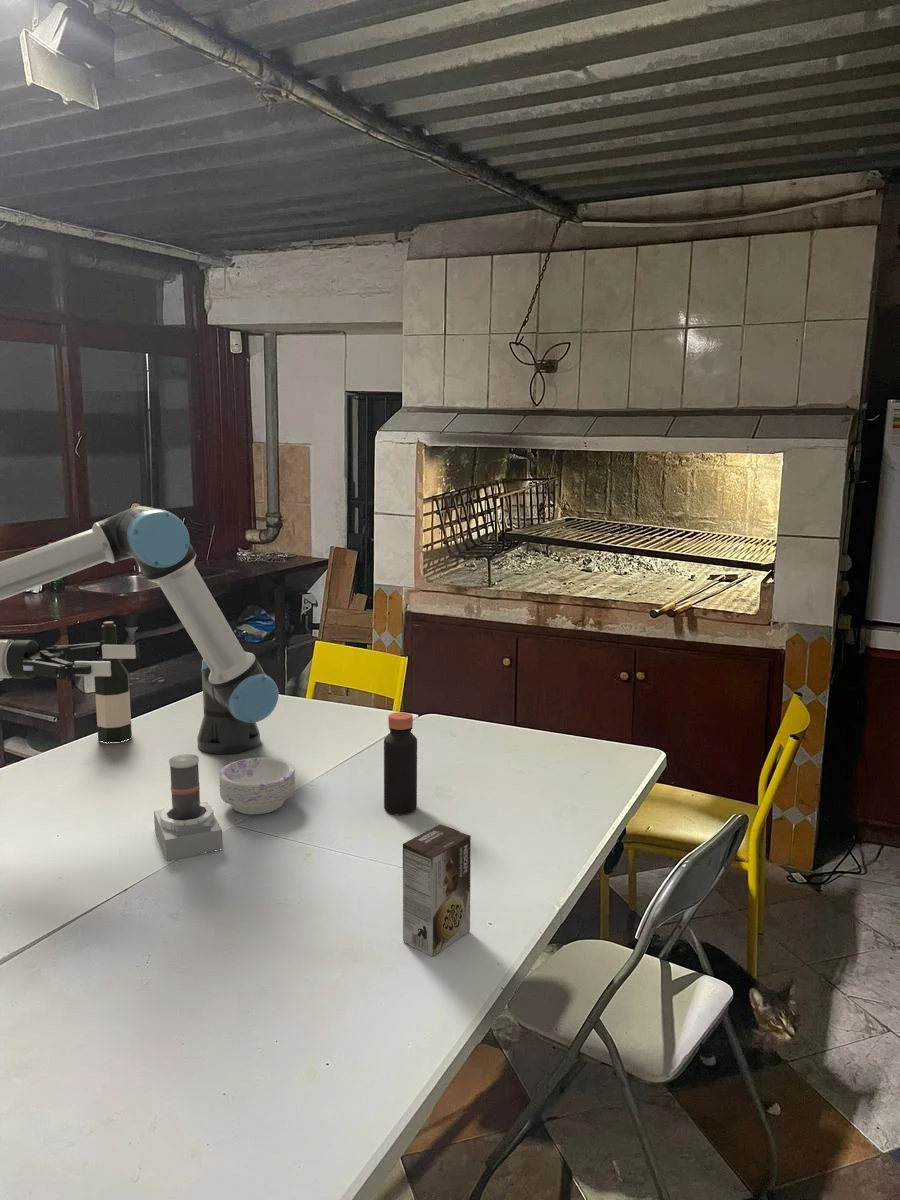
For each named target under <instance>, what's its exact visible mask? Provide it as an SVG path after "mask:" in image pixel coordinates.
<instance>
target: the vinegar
mask: <svg viewBox="0 0 900 1200" xmlns="http://www.w3.org/2000/svg"><path fill="white" fill-rule="evenodd" d="M413 719H414V718H413V714H412V713H409V712H404V711H402V712H399V711H398V712H392V713H390V714H389V715H388V730H389V733H388V734H387V735H385V737H384V740H383V809H384V810H385V811H386V812H387V813H389V814H391V815H395V814H398V815H397V816H402V815H403V814H405V815H410V814H412V813H413V812H415V811H416V810H417V806H418V739H417V737H416V736H415V735H414V734H413V733H412V730H413V724H414V723H413V721H414V720H413ZM403 816H404V815H403Z"/></svg>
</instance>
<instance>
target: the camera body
mask: <svg viewBox="0 0 900 1200" xmlns="http://www.w3.org/2000/svg"><path fill="white" fill-rule="evenodd" d="M153 814H154V815H153V817H154V819H153V820H154V821H153V822H154V831H155V835H156V837H157V839H158V841H159V844H160V847H161V850H162V853H163V855H164V858H165V860H166V861H172V860H178V859H183V858H189V857H192V856H193V855H194V856H198V854H199V855H202V854H201V853H204V854H206V853H205V852H210V853H212V852H211V851H215V850H220V849H223V850H224V847H223V846H224V845H223V844H224V843H223V840H224V839H223V828H222V827H221V825H220V823H219V822H218V819H217V817H216V816H215V813H214V809H213V807H212V805H210V804H208V802H207V801H204V802H201V801H200V814H201V816H200V817H198V818H196V819H191V820H173V811H172V805H170V806H168V807H166V808H162V809H156V810H155V809H154V810H153ZM220 851H221V850H220ZM215 852H216V851H215Z"/></svg>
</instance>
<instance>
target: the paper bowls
mask: <svg viewBox="0 0 900 1200" xmlns="http://www.w3.org/2000/svg"><path fill="white" fill-rule="evenodd" d="M295 772H296V769H295V767H294V766H293V764H292V763H290V762H289V761H286V760H284V759H281V758H277V757H276V758H275V757H263V756H262V757H249V758H244V759H239V760H237V761H232V762H230V763H229V764H227V765H225V766H223V767H222V769H221V770H220V771H219V774H218V775H219V776H218V779H219V781H218V783H219V796H220V798H221V800H222V801H223V802H224V803H226V804H228V805H231V807H232V808H233V809H234V810H235V811H236V812H237V813H238V812H239V813H240V814H244V815H253V816H254V815H264V814H268V813H271V812H274V811H276V810H278V809H279V808H281V807H282V806H283V804H284V803H285V800H287V799H289V798H291V796H292V795H294V794H295V791H296V774H295Z"/></svg>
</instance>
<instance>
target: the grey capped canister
mask: <svg viewBox="0 0 900 1200" xmlns="http://www.w3.org/2000/svg"><path fill="white" fill-rule="evenodd" d="M168 762H169V768H170V770H169V771H170V792H171V806H172V811H173V820H191V819H196V818H198V817H200V816H201V814H200V802H201V796H200V794H201V793H200V788H201V787H200V777H199V776H200V773H199V763H200V760H199V756H198V755H196V754H193V753H192V754H191V753H190V754H189V753H185V754H179V755H176V756H172V757H171V758H169V761H168Z"/></svg>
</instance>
